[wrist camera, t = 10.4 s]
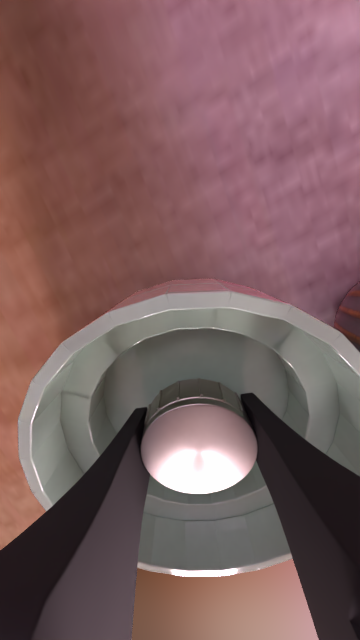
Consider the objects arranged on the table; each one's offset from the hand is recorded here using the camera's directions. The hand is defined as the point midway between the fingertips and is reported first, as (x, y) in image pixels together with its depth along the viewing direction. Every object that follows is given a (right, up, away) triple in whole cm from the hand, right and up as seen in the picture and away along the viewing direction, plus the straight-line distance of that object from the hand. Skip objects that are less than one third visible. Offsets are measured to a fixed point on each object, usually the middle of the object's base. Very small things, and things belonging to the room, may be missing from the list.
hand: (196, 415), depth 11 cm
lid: (0, 0, -2) cm, 2 cm away
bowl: (0, 0, +2) cm, 2 cm away
